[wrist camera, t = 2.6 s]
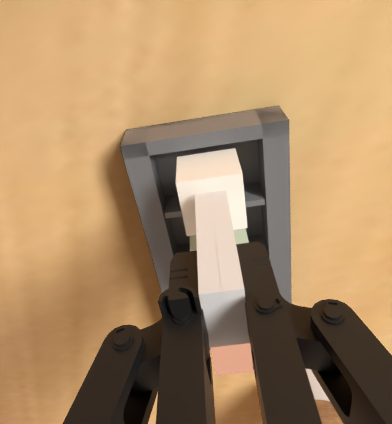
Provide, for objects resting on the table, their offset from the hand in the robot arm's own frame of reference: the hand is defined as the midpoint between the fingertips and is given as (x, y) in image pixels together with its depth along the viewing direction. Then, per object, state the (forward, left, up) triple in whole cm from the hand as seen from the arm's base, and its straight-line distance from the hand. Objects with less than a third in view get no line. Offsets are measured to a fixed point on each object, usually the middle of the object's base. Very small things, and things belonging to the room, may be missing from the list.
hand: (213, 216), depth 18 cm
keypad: (+6, 0, -6) cm, 8 cm away
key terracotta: (+12, 0, -4) cm, 13 cm away
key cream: (0, 0, -3) cm, 3 cm away
